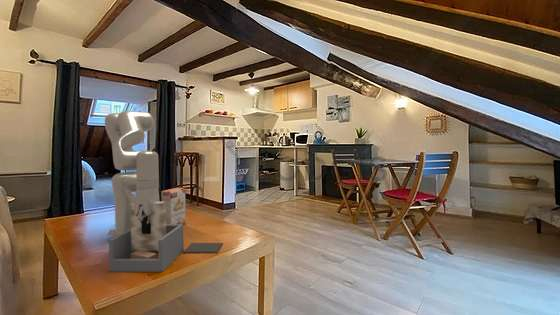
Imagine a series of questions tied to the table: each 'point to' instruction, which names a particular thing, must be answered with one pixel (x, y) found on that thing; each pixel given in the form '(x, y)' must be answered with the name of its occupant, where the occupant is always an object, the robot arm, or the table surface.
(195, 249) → the mat
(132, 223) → the tall board
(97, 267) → the table surface
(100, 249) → the table surface
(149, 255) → the upper offcut
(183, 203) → the cracker box
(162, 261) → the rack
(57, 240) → the table surface
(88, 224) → the table surface
